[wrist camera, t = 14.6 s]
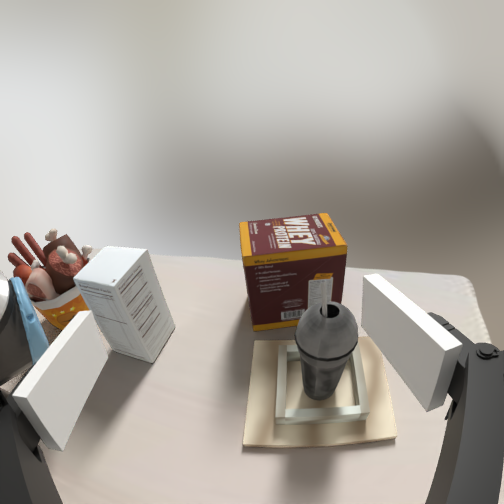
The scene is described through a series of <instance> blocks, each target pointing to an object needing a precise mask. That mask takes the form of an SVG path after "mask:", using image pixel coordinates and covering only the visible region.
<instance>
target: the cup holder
mask: <svg viewBox="0 0 504 504" xmlns="http://www.w3.org/2000/svg"><path fill="white" fill-rule="evenodd" d="M396 437H397V430H396V424H395V418H394V413H393V407H392V402H391V396H390V391H389V386H388V381H387V377H386V372H385V367H384V363H383V359H382V354H381V351H380V349H379V348H378V347H377V346H376V344H375V343H374V342H373V340H372V339H371V338H370V337H369V336H367V337H358V343H357V345H356V347H355V349H354V351H353V352H352V353H351V355H350V357H349V359H348V361H347V363H346V366H345V368H344V371H343V373H342V376H341V378H340V381H339V383H338V385H337V387H336V389H335V391H334V393H333V395H332V396H330V397H329V398H327V399H325V400H320V401H319V400H313V399H311V398H309V397H308V396H307V395H306V394H305V392H304V387H303V381H302V371H301V361H300V354H299V351H298V348H297V344H296V341H295V340H254V349H253V358H252V367H251V376H250V385H249V394H248V403H247V411H246V420H245V428H244V437H243V446H247V447H278V448H290V447H322V446H337V445H348V444H358V443H367V442H374V441H382V440H388V439H394V438H396Z"/></svg>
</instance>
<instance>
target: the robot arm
mask: <svg viewBox="0 0 504 504" xmlns="http://www.w3.org/2000/svg"><path fill="white" fill-rule="evenodd" d="M361 326H362V328H363V329H364V330H365V331H366V333H367V334H368V335H369V337H370V338H371V339H372V340H373V342H374V343H375V344H376V346H377V347H378V348H379V349H380V351H381V352H382V353H383V355H384V356H385V357H386V358H387V360H388V361H389V362H390V364H391V365H392V366H393V368H394V369H395V370H396V372H397V373H398V374H399V375H400V377H401V378H402V379H403V381H404V382H405V383H406V385H407V386H408V387H409V389H410V390H411V391H412V393H413V394H414V396H415V397H416V398H417V400H418V401H419V402H420V404H421V405H422V406H423V408H424V409H425V411H426V412H428V411H431V410H433V409H435V408H437V407H440V406H442V405H443V404H444V401H445V399H446V396H447V393H448V394H449V395H450V396H451V397H452V399H453V400H452V403H451V405H450V408H449V410H448V412H447V415H446V417H445V420H447V419H448V421H447V426H446V431H445V436H444V440H443V445H442V449H441V453H440V457H439V461H438V465H437V468H436V472H435V475H434V479H433V482H432V485H431V488H430V491H429V494H428V497H427V500H426V503H425V504H498V499H499V493H500V487H501V479H502V471H503V461H504V351H500V350H499V349H498V348H497V347H495V346H493V345H492V344H488V343H477V344H474V343H473V342H472V341H470V340H469V339H468V338H467V337H466V336H465V335H463V334H462V333H461V332H460V331H458V330H457V329H455V327H454V326H452V325H451V324H449V322H448V321H446V320H445V319H444V318H443V317H441V316H439V315H436V314H434V313H432V312H431V313H426V312H425V311H423V310H422V309H421V308H420V307H418V306H417V305H416V304H415V303H414V302H412V301H411V300H410V299H409V298H407V297H406V296H405V295H404V294H402V293H401V292H400V291H399V290H397V289H396V288H395V287H394V286H392V285H391V284H390V283H389V282H387V281H386V280H385V279H384V278H382V277H381V276H380V275H378V274H371V275H366V276H363V298H362V319H361ZM107 359H108V354H107V352H106V349H105V347H104V344H103V341H102V338H101V336H100V333H99V330H98V327H97V324H96V321H95V319H94V316H93V313H92V310H90V311H79V312H78V313H77V315H76V316H75V317H74V318H73V319H72V320H71V321H70V323H69V324H68V325H67V326H66V327H65V328H64V330H63V331H62V332H61V333H60V334H59V336H58V337H57V338H56V339H55V340H54V342H53V343H52V344H51V345H50V347H49V343H48V340H47V338H46V335H45V333H44V331H43V328H42V326H41V324H40V321H39V319H38V317H37V314H36V312H35V310H34V308H33V305H32V303H31V301H30V298H29V296H28V293H27V291H26V289H25V286H24V284H23V282H22V280H21V279H20V278H19V277H15V278H11V279H9V281H8V279H7V278H6V276H5V275H4V274H3V272H2V271H0V386H1V385H3V384H4V383H6V382H8V381H9V380H11V379H12V378H14V377H16V376H17V375H19V374H20V373H22V372H24V371H25V370H27V369H28V371H27V372H26V373H25V376H23V377H22V378H21V380H20V382H18V384H17V385H16V386H15V388H14V389H13V390H12V392H11V393H10V392H8V391H6V390H4V389H2V388H0V504H63V503H62V500H61V498H60V496H59V494H58V491H57V489H56V487H55V484H54V482H53V479H52V477H51V474H50V472H49V469H48V466H47V464H46V461H45V458H44V455H43V452H42V450H41V448H40V447H39V446H38V442H39V440H40V438H41V440H42V441H43V442H44V444H45V445H46V446H47V447H48V448H49V449H53V450H58V451H63V450H64V448H65V446H66V443H67V441H68V439H69V437H70V434H71V432H72V430H73V428H74V426H75V423H76V421H77V419H78V417H79V415H80V413H81V411H82V409H83V406H84V404H85V402H86V400H87V398H88V396H89V394H90V392H91V390H92V388H93V386H94V384H95V382H96V380H97V378H98V376H99V374H100V372H101V370H102V369H103V367H104V365H105V363H106V361H107Z"/></svg>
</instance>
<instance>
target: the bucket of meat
mask: <svg viewBox="0 0 504 504" xmlns="http://www.w3.org/2000/svg"><path fill="white" fill-rule="evenodd" d="M56 236H57V230H56V229H51V230H50V231H49V233H48V234H47V235H46V236H45V240H47V241H51V242H50V243H49V244H48V245H46V246H45V247H44V248H43V251H42V250H41V248H40V247H39V245H38V244H37V243H36V241H35V240H34V238H33V237H32V236H31V234H30V233H28V232H27V233H25V234H24V239H25V240H26V242H27V243H28V244H29V246H30V247H31V249H32V250H33V251H34V253H35V254H36V255H37V257H38V258H39V260H40V261H41V262H42V264H43V265H44V266H41V265H40V263H39V261H38V260H36V259H35V258H34V257H33V255H32V254H31V253H30V252H29V250H28V249H27V248H26V247H25V245H24V244H23V243H22V241H21V240H20V239H19V238H18V237H16V236H13V237H12V243H13V245H14V246H15V248H16V249H17V250H18V251H19V253H20V254H21V255H22V256H23V257H24V259H25V260H26V261H27V262H28V264H29V265H30V266H31V267H30V266H29V265H28V264H26V263H25V262H24V261H23V260H22V259H20V258H19V257H18V256H17V255H16V254H15V253H9V255H8V260H9V261H10V262H11V263H12V264H13V265H14V266H16V268H15V269H14V271H13V274H14V278H15V277H19V278H20V279H21V280H22V282H23V284H24V286H25V289H26V291H27V293H28V296H29V298H30V301H31V303H32V305H33V306H34V307H35V308H36V309H37V310H38V311H39V312H40V313H41V314H42V315H43V316H44V317H45V318H46V319H47V320H48V321H49V322H50V323H51V324H52V325H54V326H56V327H57V328H59V329H61V330H64V328H65V327H66V326H67V325H68V324H69V323H70V321H71V320H72V319H73V318H74V317H75V316H76V315H77V313H78V312H79V311H90V310H89V308H88V307H87V305H86V303H85V301H84V299H83V297H82V296H81V294H80V292H79V290H78V288H77V286H76V284H75V282H74V280H73V278H74V277H75V276H76V275H77V273H78V272H79V271H80V270H81V269H82V268H83V267H84V266H85V265H87V264H88V263H89V262H90V258H88V257H87V256H88V254H89V253H91V252H92V249H93V248H92V247H91V246H89V245H86V246H83V247H82V252H83V255H82V254H80V252H79V250H78V249H77V247H76V246H75V245H74V243H73V242H72V241H71V239H70V238H69V237H68V235H67V234H66V235H64V236H62V237H60V238H58V239H56Z"/></svg>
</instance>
